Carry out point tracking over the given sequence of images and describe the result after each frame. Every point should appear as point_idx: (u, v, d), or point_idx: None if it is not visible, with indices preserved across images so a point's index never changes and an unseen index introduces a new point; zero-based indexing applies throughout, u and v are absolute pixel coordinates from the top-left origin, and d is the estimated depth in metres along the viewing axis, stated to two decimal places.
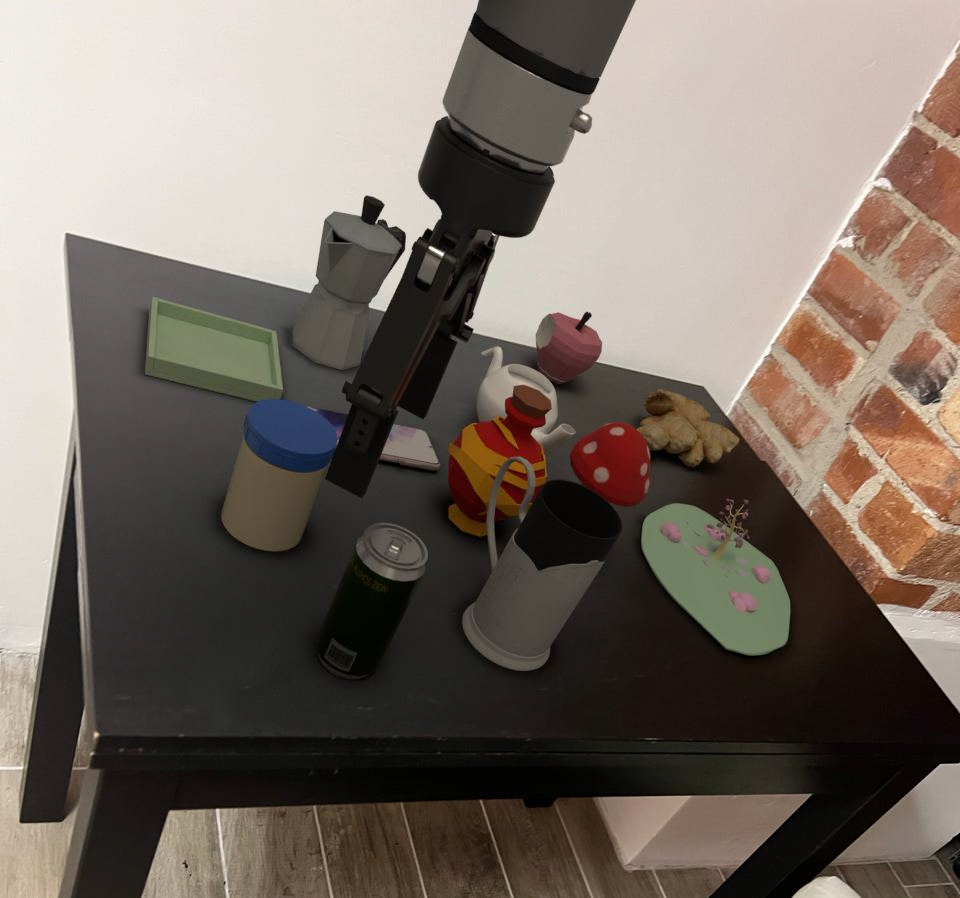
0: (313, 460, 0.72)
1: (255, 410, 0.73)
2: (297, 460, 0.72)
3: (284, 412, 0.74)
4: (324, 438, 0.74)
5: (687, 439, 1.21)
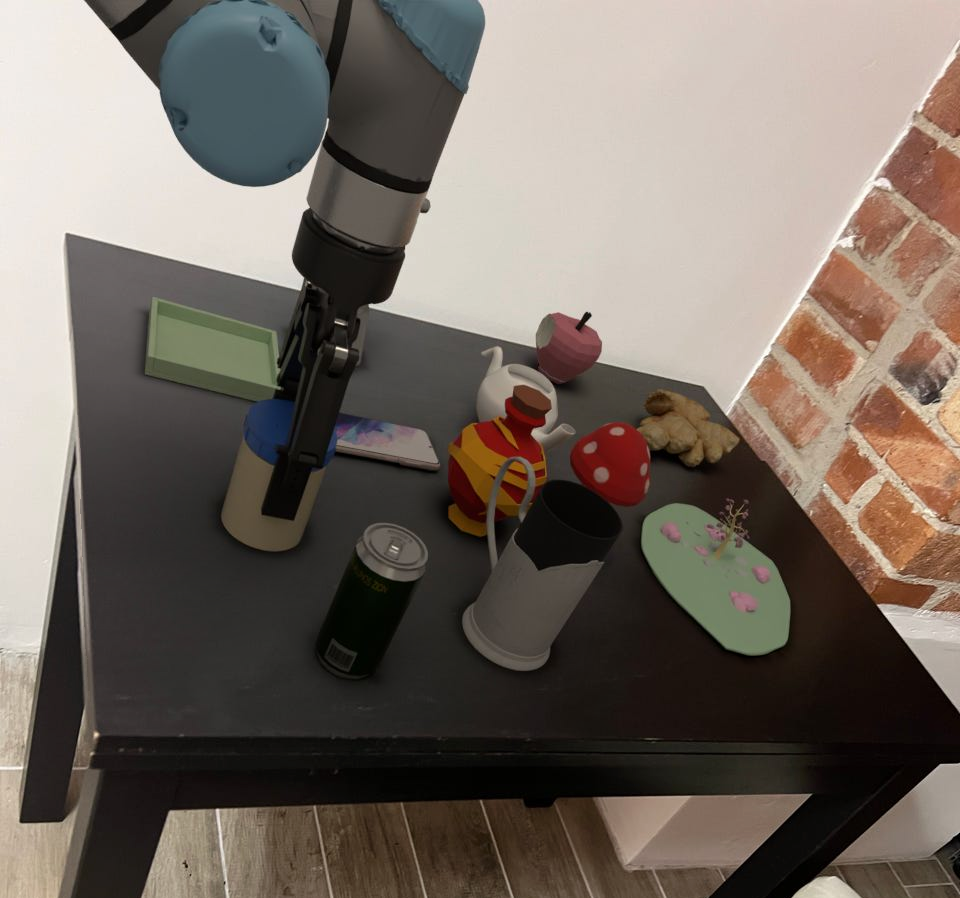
0: None
1: (255, 410, 0.73)
2: None
3: (284, 412, 0.74)
4: None
5: (687, 439, 1.21)
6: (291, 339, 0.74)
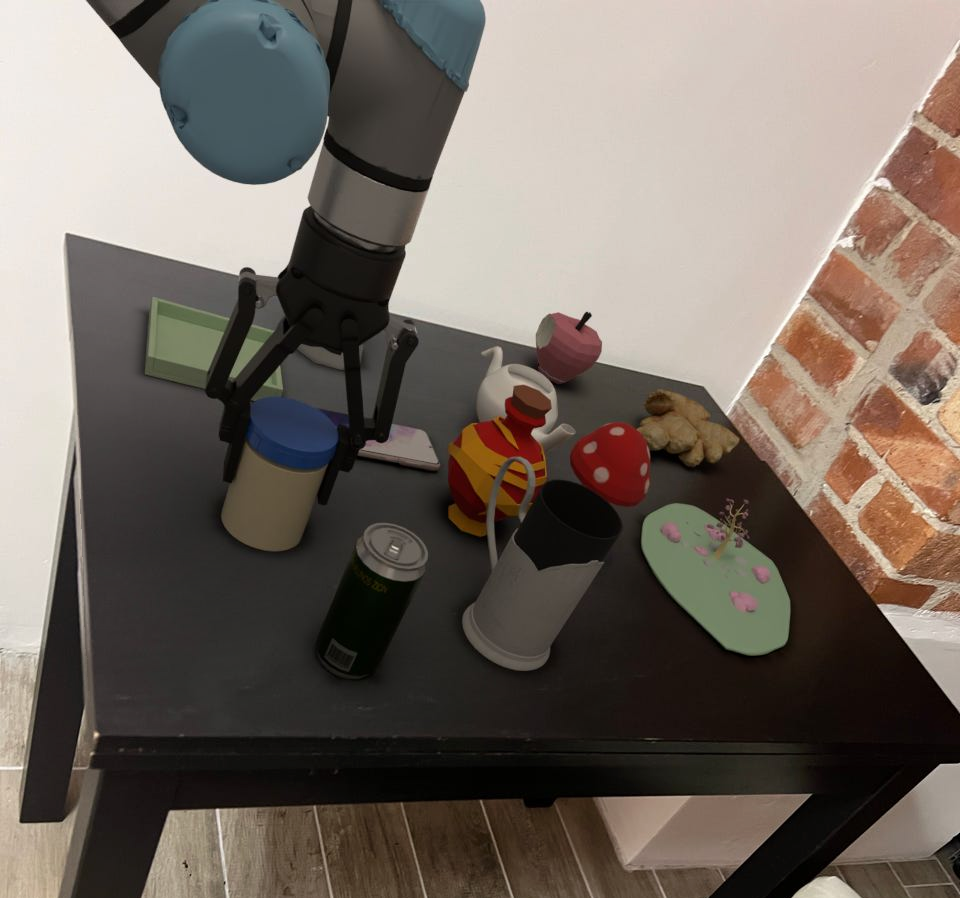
0: None
1: (283, 441, 0.71)
2: None
3: (274, 422, 0.72)
4: (304, 409, 0.76)
5: (687, 439, 1.21)
6: None
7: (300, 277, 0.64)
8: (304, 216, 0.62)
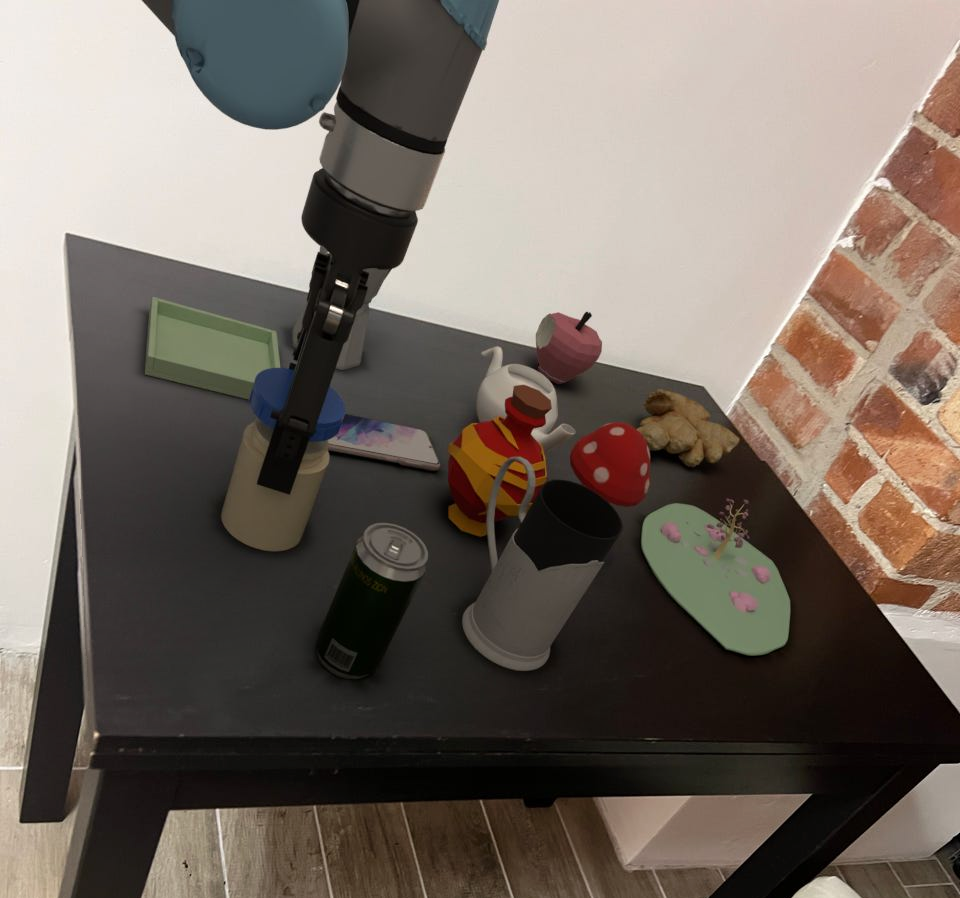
0: None
1: (337, 413, 0.72)
2: None
3: None
4: (271, 378, 0.72)
5: (687, 439, 1.21)
6: None
7: None
8: (367, 217, 0.59)
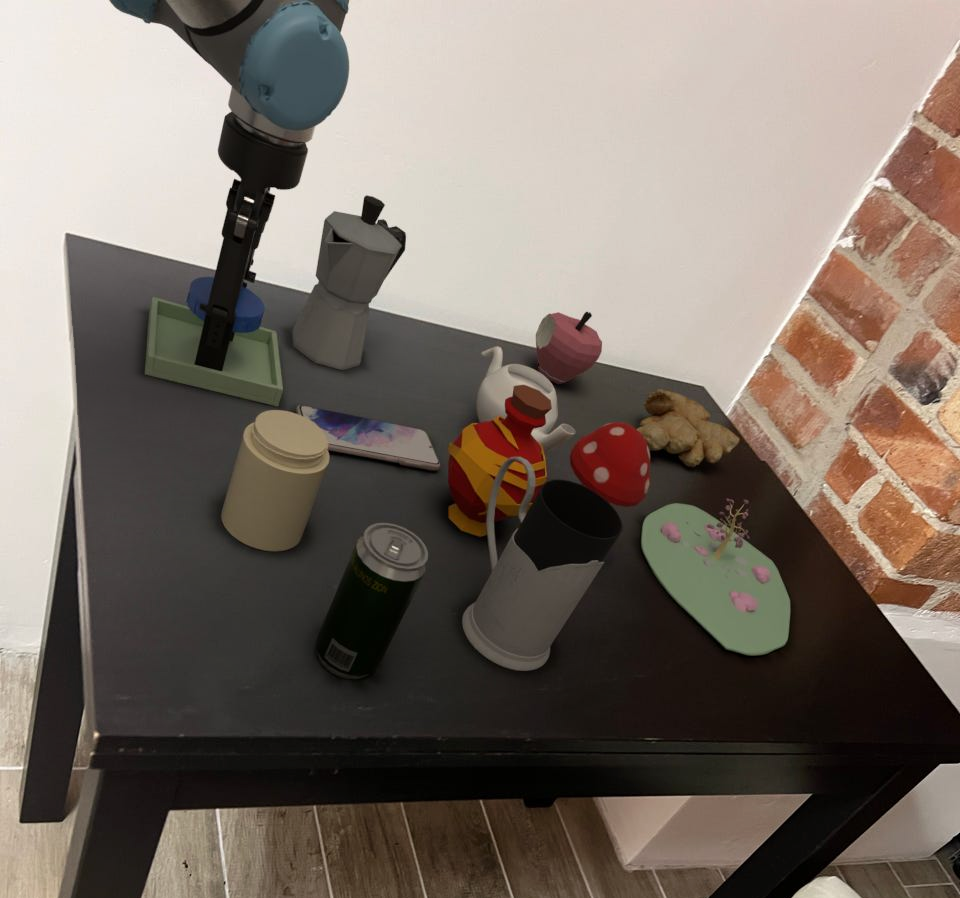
0: None
1: (257, 311, 0.91)
2: None
3: None
4: (204, 283, 0.91)
5: (687, 439, 1.21)
6: None
7: (262, 191, 0.82)
8: (264, 146, 0.79)
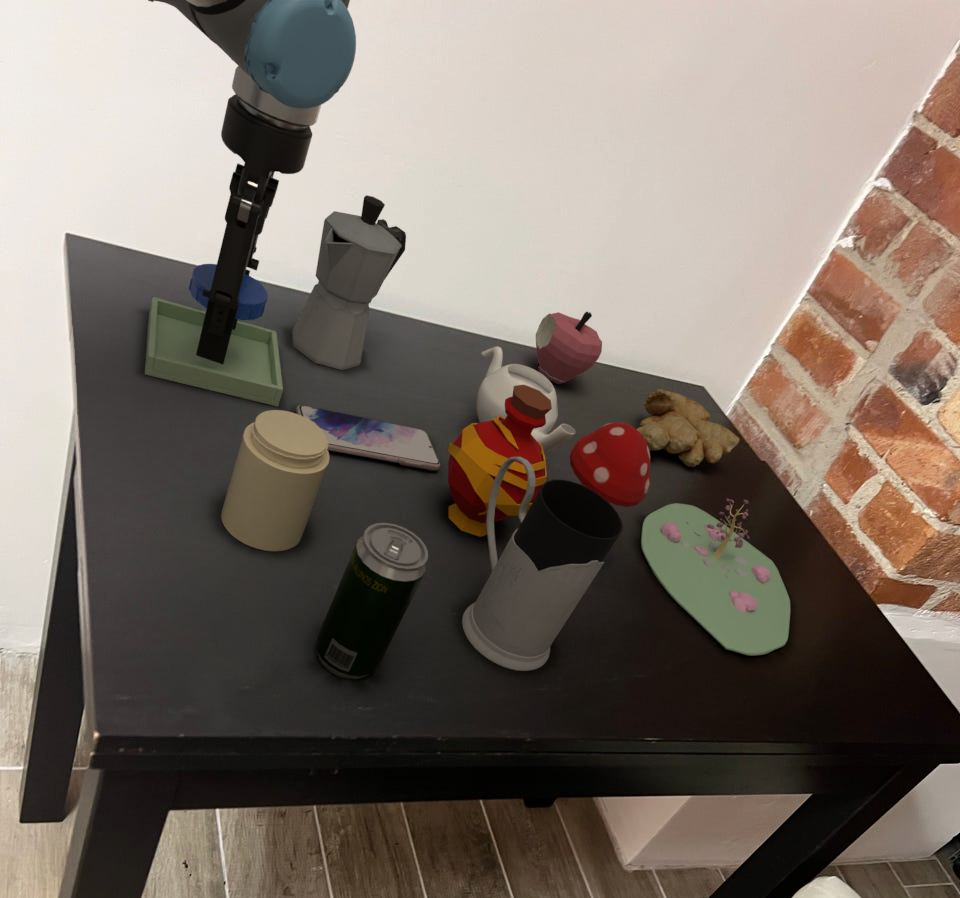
0: None
1: (260, 298, 0.90)
2: None
3: None
4: (207, 270, 0.90)
5: (687, 439, 1.21)
6: None
7: (266, 175, 0.81)
8: (268, 129, 0.78)
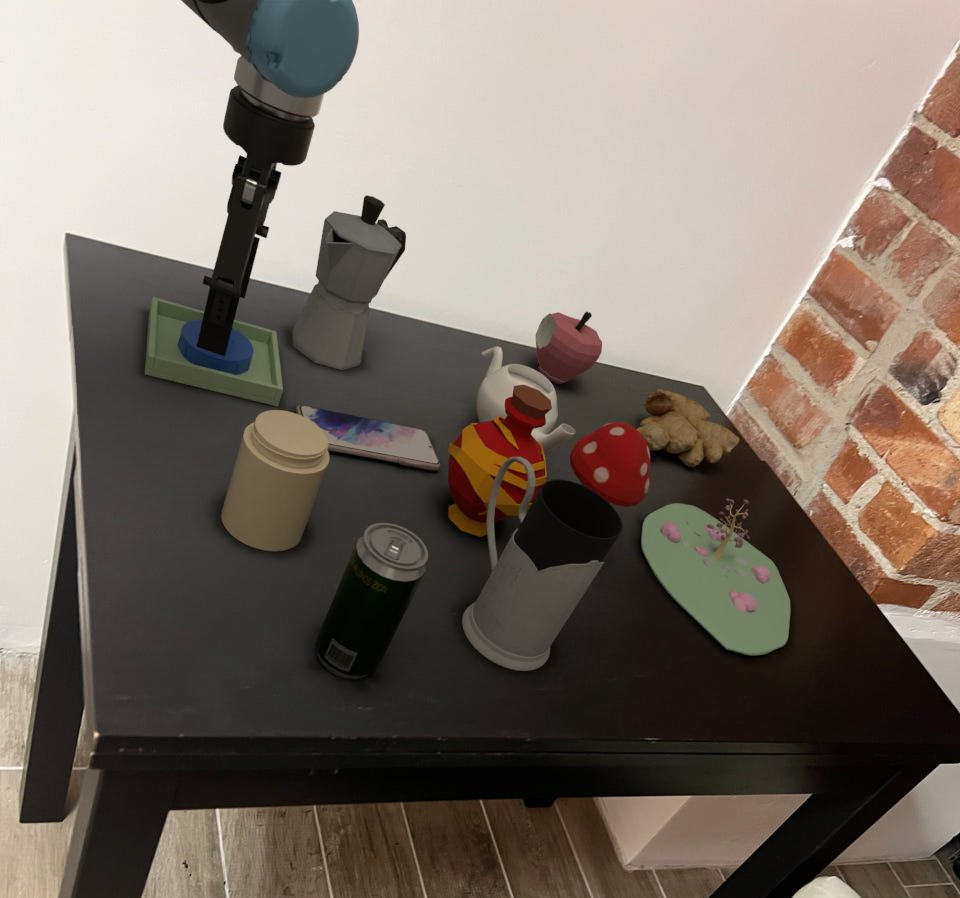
0: None
1: (246, 354, 0.94)
2: None
3: None
4: (195, 327, 0.94)
5: (687, 439, 1.21)
6: None
7: (269, 167, 0.81)
8: (270, 120, 0.77)
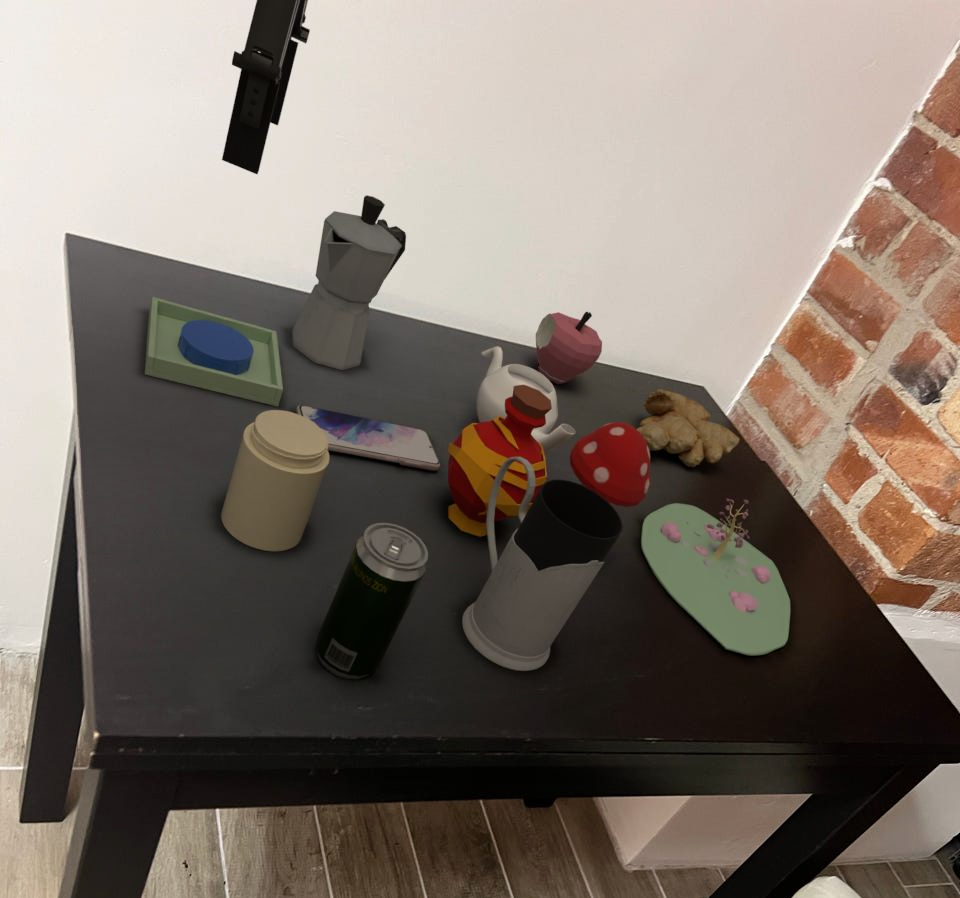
0: None
1: (246, 354, 0.94)
2: None
3: (221, 349, 0.93)
4: (195, 327, 0.94)
5: (687, 439, 1.21)
6: None
7: None
8: None
